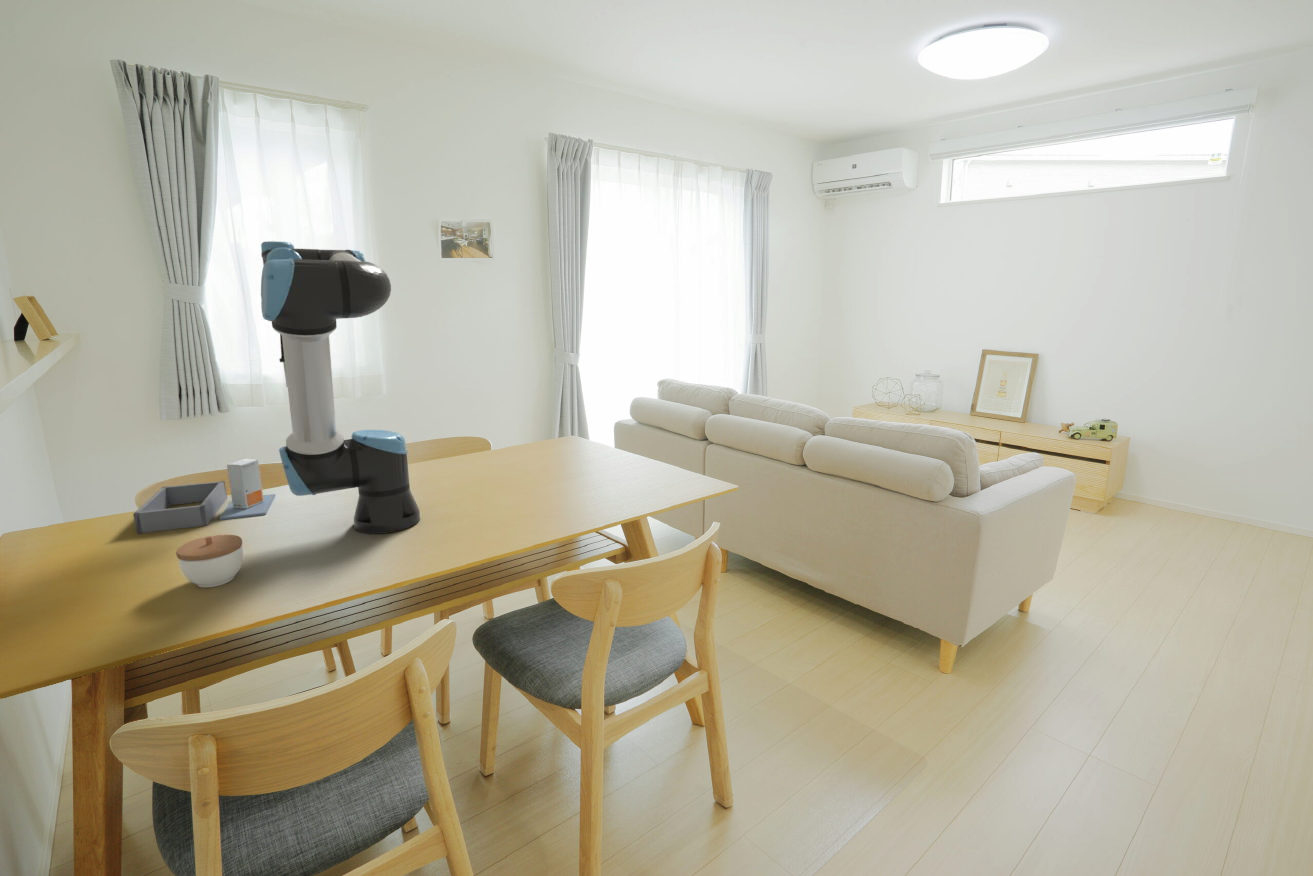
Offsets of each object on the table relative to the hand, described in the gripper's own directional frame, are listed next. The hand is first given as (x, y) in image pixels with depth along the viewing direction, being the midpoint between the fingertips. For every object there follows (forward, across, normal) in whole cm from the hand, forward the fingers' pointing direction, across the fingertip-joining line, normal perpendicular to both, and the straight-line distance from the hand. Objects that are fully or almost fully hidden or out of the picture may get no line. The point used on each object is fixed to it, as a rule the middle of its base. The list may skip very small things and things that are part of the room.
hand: (295, 383), depth 170 cm
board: (+32, +6, -14) cm, 35 cm away
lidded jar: (+32, +53, -12) cm, 63 cm away
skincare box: (+31, +6, -14) cm, 35 cm away
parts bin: (+32, +6, -28) cm, 43 cm away
